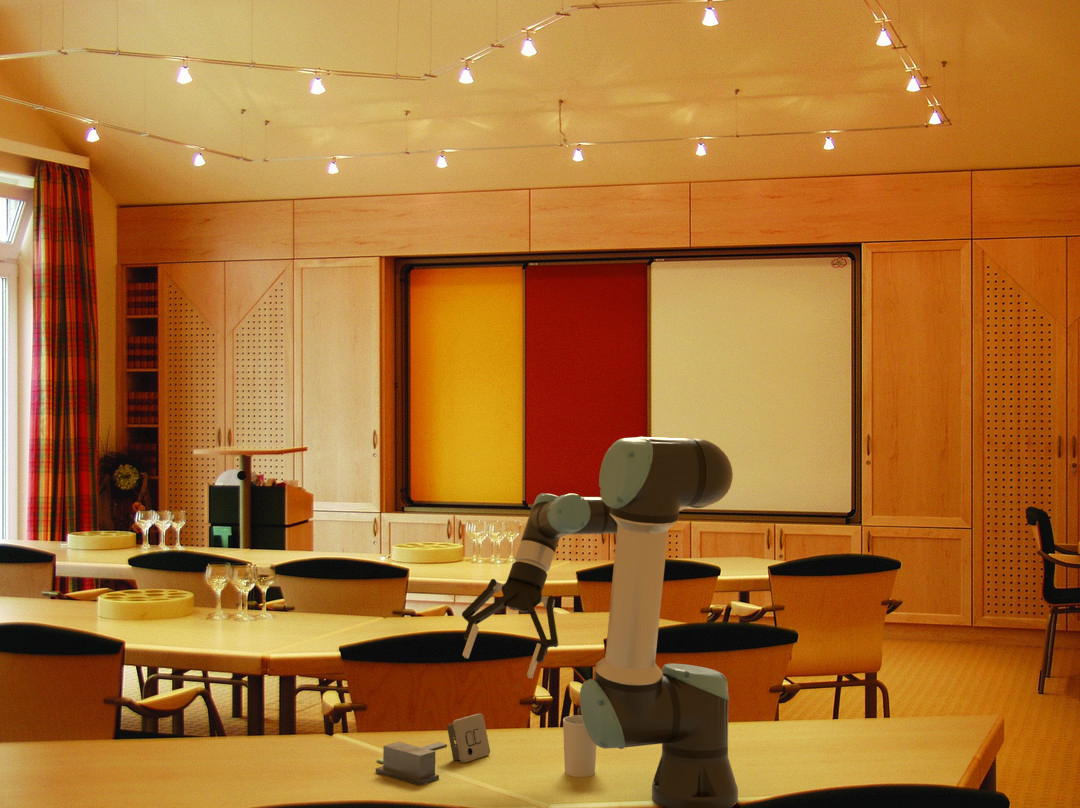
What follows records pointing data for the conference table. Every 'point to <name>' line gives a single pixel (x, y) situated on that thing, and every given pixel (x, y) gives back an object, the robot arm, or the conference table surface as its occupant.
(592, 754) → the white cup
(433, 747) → the green and grey strip
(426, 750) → the block
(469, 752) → the electrical switch
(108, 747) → the conference table surface
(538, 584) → the robot arm
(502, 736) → the conference table surface
